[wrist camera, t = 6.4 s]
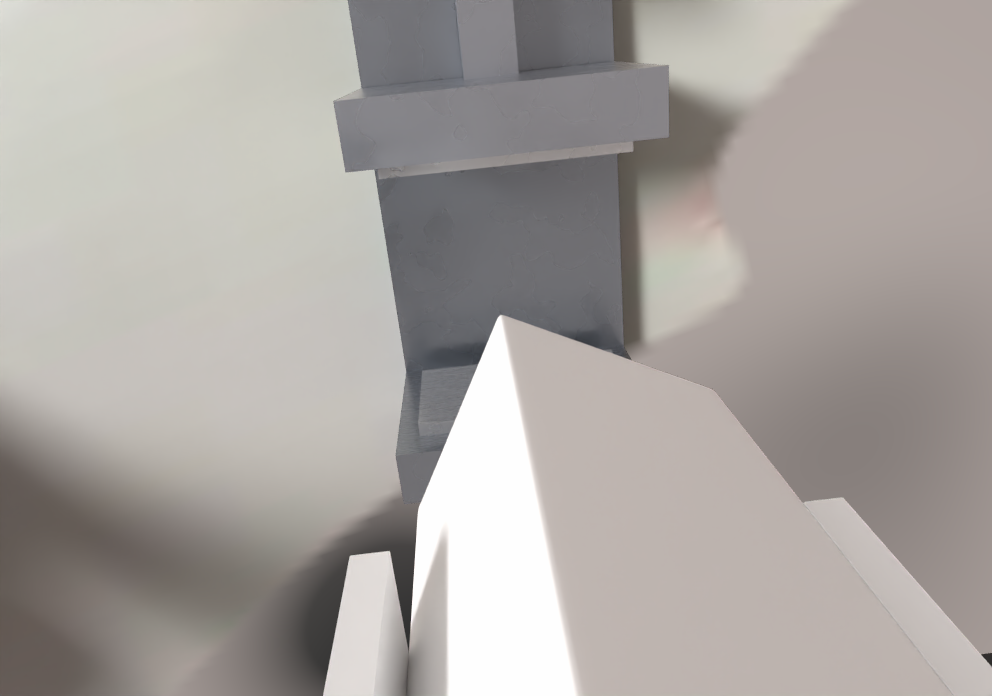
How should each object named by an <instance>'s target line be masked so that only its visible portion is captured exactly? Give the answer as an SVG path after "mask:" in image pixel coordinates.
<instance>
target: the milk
mask: <svg viewBox="0 0 992 696" xmlns="http://www.w3.org/2000/svg"><path fill="white" fill-rule="evenodd" d="M406 696H953V695H952V694H951V692H950V691H949V690H948V689H947V687H946V686H945V685H944V684H943V682H942V681H941V680H940V678H939V677H938V676H937V675H936V673H935V672H934V671H933V669H932V668H931V667H930V666H929V664H928V663H927V662H926V660H925V659H924V658H923V657H922V655H921V654H920V653H919V652H918V650H917V649H916V648H915V646H914V645H913V644H912V643H911V641H910V640H909V639H908V637H907V636H906V635H905V634H904V632H903V631H902V630H901V628H900V627H899V626H898V625H897V623H896V622H895V621H894V619H893V618H892V617H891V616H890V614H889V613H888V612H887V611H886V609H885V608H884V607H883V605H882V604H881V603H880V602H879V600H878V599H877V598H876V596H875V595H874V594H873V593H872V591H871V590H870V589H869V587H868V586H867V585H866V584H865V582H864V581H863V580H862V579H861V577H860V576H859V575H858V573H857V572H856V571H855V570H854V568H853V567H852V566H851V564H850V563H849V562H848V561H847V559H846V558H845V557H844V555H843V554H842V553H841V552H840V550H839V549H838V548H837V546H836V545H835V544H834V543H833V541H832V540H831V539H830V538H829V536H828V535H827V534H826V532H825V531H824V530H823V529H822V527H821V526H820V525H819V523H818V522H817V521H816V520H815V518H814V517H813V516H812V514H811V513H810V512H809V511H808V509H807V508H806V507H805V506H804V504H803V503H802V502H801V501H800V499H799V498H798V497H797V495H796V494H795V493H794V491H793V490H792V489H791V488H790V486H789V485H788V484H787V482H786V481H785V480H784V479H783V477H782V476H781V475H780V474H779V472H778V471H777V470H776V468H775V467H774V466H773V465H772V463H771V462H770V461H769V460H768V458H767V457H766V456H765V454H764V453H763V452H762V450H761V449H760V448H759V447H758V445H757V444H756V443H755V442H754V440H753V439H752V438H751V436H750V435H749V434H748V433H747V431H746V430H745V429H744V427H743V426H742V425H741V424H740V422H739V421H738V420H737V418H736V417H735V416H734V415H733V413H732V412H731V411H730V410H729V408H728V407H727V406H726V404H725V403H724V402H723V401H722V399H721V398H720V397H719V395H718V394H717V393H716V392H715V391H714V390H713V389H711V388H708V387H706V386H703V385H700V384H697V383H694V382H691V381H689V380H686V379H683V378H680V377H677V376H674V375H672V374H669V373H666V372H663V371H660V370H657V369H655V368H652V367H649V366H646V365H643V364H640V363H638V362H635V361H632V360H629V359H626V358H624V357H621V356H618V355H615V354H612V353H610V352H607V351H604V350H601V349H598V348H595V347H593V346H590V345H587V344H584V343H581V342H578V341H576V340H573V339H570V338H567V337H564V336H561V335H559V334H556V333H553V332H550V331H547V330H544V329H542V328H539V327H536V326H533V325H530V324H527V323H525V322H522V321H519V320H516V319H513V318H510V317H507V316H504V315H500V316H499V317H498V319H497V321H496V323H495V326H494V328H493V330H492V333H491V335H490V338H489V340H488V342H487V345H486V347H485V350H484V352H483V354H482V357H481V359H480V362H479V364H478V367H477V369H476V371H475V374H474V376H473V379H472V381H471V383H470V386H469V388H468V391H467V393H466V395H465V398H464V400H463V403H462V405H461V407H460V410H459V412H458V415H457V417H456V420H455V422H454V424H453V427H452V429H451V432H450V434H449V436H448V439H447V441H446V444H445V446H444V448H443V451H442V453H441V456H440V458H439V460H438V463H437V465H436V468H435V470H434V472H433V475H432V477H431V480H430V482H429V485H428V487H427V489H426V492H425V494H424V497H423V499H422V501H421V504H420V506H419V510H418V520H417V536H416V552H415V568H414V583H413V599H412V615H411V630H410V646H409V663H408V679H407V695H406Z"/></svg>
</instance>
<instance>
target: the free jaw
mask: <svg viewBox="0 0 992 696" xmlns="http://www.w3.org/2000/svg"><path fill="white" fill-rule="evenodd" d="M455 6H456V15H457V24H458V33H459V43H460V52H461V61H462V71H463V78H454V79H444V80H435V81H425V82H416V83H407V84H397V85H388V86H378V87H369V88H361V89H359V90H356V91H354V92H352V93H350V94H348V95H346V96H343V97H341V98H339V99H337V100H335V101H333V102H334V108H335V113H336V119H337V125H338V131H339V137H340V142H341V148H342V154H343V160H344V165H345V171H346V172H355V171H364V170H373V169H377V170H378V176H379V179H386V178H395V177H404V176H414V175H423V174H432V173H441V172H450V171H460V170H469V169H478V168H487V167H496V166H506V165H515V164H524V163H533V162H542V161H552V160H561V159H570V158H579V157H588V156H598V155H607V154H616V153H625V152H633V141H641V140H650V139H659V138H668V137H669V65H657V64H644V63H631V62H618V61H614V62H604V63H595V64H585V65H576V66H567V67H557V68H548V69H538V70H529V71H518V59H517V46H516V34H515V21H514V9H513V0H455Z"/></svg>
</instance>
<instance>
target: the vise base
mask: <svg viewBox="0 0 992 696" xmlns="http://www.w3.org/2000/svg"><path fill="white" fill-rule="evenodd" d="M348 4H349V11H350V17H351V23H352V30H353V36H354V42H355V49H356V55H357V61H358V68H359V74H360V80H361V87H362V88H369V87H378V86H388V85H397V84H407V83H416V82H425V81H435V80H444V79H454V78H463V71H462V61H461V52H460V43H459V33H458V24H457V15H456V6H455V0H348ZM513 9H514V21H515V34H516V46H517V59H518V71H529V70H538V69H548V68H557V67H567V66H576V65H585V64H595V63H604V62H614V40H613V10H612V0H513ZM375 176H376V182H377V188H378V195H379V201H380V207H381V214H382V220H383V226H384V233H385V239H386V245H387V252H388V258H389V264H390V271H391V277H392V283H393V290H394V296H395V302H396V309H397V315H398V321H399V328H400V334H401V340H402V347H403V353H404V359H405V366H406V379H405V387H404V394H403V402H402V410H401V418H400V426H399V434H398V441H397V449H396V460H397V466H398V472H399V478H400V484H401V490H402V495H403V501H404V504H409V503H417V502H421V501H422V499H423V497H424V494H425V492H426V489H427V487H428V485H429V482H430V480H431V477H432V475H433V472H434V470H435V468H436V465H437V463H438V460H439V458H440V456H441V453H442V451H443V448H444V446H445V444H446V441H447V439H448V436H449V434H450V432H451V429H452V427H453V424H454V422H455V420H456V417H457V415H458V412H459V410H460V407H461V405H462V403H463V400H464V398H465V395H466V393H467V391H468V388H469V386H470V383H471V381H472V379H473V376H474V374H475V371H476V369H477V367H478V364H479V362H480V359H481V357H482V354H483V352H484V350H485V347H486V345H487V342H488V340H489V338H490V335H491V333H492V330H493V328H494V326H495V323H496V321H497V319H498V317H499V316H500V315H504V316H507V317H510V318H513V319H516V320H519V321H522V322H525V323H527V324H530V325H533V326H536V327H539V328H542V329H544V330H547V331H550V332H553V333H556V334H559V335H561V336H564V337H567V338H570V339H573V340H576V341H578V342H581V343H584V344H587V345H590V346H593V347H595V348H598V349H601V350H604V351H607V352H610V353H612V354H615V355H618V356H621V357H624V358H626V359H629V360H631V358H630V356H629V355H628V353H627V351H626V350H625V348H624V335H623V306H622V276H621V247H620V217H619V188H618V158H617V153H616V154H607V155H598V156H588V157H579V158H570V159H561V160H552V161H542V162H533V163H524V164H515V165H506V166H496V167H487V168H478V169H469V170H460V171H450V172H441V173H432V174H423V175H414V176H404V177H395V178H386V179H379V176H378V170H377V169H375Z"/></svg>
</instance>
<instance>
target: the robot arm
mask: <svg viewBox="0 0 992 696" xmlns="http://www.w3.org/2000/svg"><path fill="white" fill-rule="evenodd" d="M804 506H805V507H806V508H807V509H808V511H809V512H810V513H811V514H812V516H813V517H814V518H815V520H816V521H817V522H818V523H819V525H820V526H821V527H822V529H823V530H824V531H825V532H826V534H827V535H828V536H829V538H830V539H831V540H832V541H833V543H834V544H835V545H836V546H837V548H838V549H839V550H840V552H841V553H842V554H843V555H844V557H845V558H846V559H847V561H848V562H849V563H850V564H851V566H852V567H853V568H854V570H855V571H856V572H857V573H858V575H859V576H860V577H861V579H862V580H863V581H864V582H865V584H866V585H867V586H868V587H869V589H870V590H871V591H872V593H873V594H874V595H875V596H876V598H877V599H878V600H879V602H880V603H881V604H882V605H883V607H884V608H885V609H886V611H887V612H888V613H889V614H890V616H891V617H892V618H893V619H894V621H895V622H896V623H897V625H898V626H899V627H900V628H901V630H902V631H903V632H904V634H905V635H906V636H907V637H908V639H909V640H910V641H911V643H912V644H913V645H914V646H915V648H916V649H917V650H918V652H919V653H920V654H921V655H922V657H923V658H924V659H925V660H926V662H927V663H928V664H929V666H930V667H931V668H932V669H933V671H934V672H935V673H936V675H937V676H938V677H939V678H940V680H941V681H942V682H943V684H944V685H945V686H946V687H947V689H948V690H949V691H950V692H951V694H952V695H953V696H992V653H989V654H980V653H979V652H978V651H977V650H976V648H975V647H974V646H973V645H972V644H971V643H970V642H969V640H968V639H967V638H966V637H965V636H964V635H963V634H962V632H961V631H960V630H959V629H958V628H957V627H956V626H955V625H954V623H953V622H952V621H951V620H950V619H949V618H948V617H947V616H946V614H945V613H944V612H943V611H942V610H941V609H940V607H939V606H938V605H937V604H936V603H935V602H934V601H933V600H932V598H931V597H930V596H929V595H928V594H927V593H926V592H925V590H924V589H923V588H922V587H921V586H920V585H919V584H918V583H917V581H916V580H915V579H914V578H913V577H912V576H911V575H910V573H909V572H908V571H907V570H906V569H905V568H904V567H903V565H902V564H901V563H900V562H899V561H898V560H897V559H896V557H895V556H894V555H893V554H892V553H891V552H890V551H889V550H888V548H887V547H886V546H885V545H884V544H883V543H882V541H881V540H880V539H879V538H878V537H877V536H876V535H875V534H874V533H873V531H872V530H871V529H870V528H869V527H868V526H867V524H866V523H865V522H864V521H863V520H862V519H861V518H860V516H859V515H858V514H857V513H856V512H855V511H854V510H853V508H852V507H851V506H850V505H849V504H848V503H847V502H846V500H845V499H844V498H843V497H841V498H834V499H824V500H816V501H807V502H804ZM408 663H409V652H408V646H407V641H406V636H405V630H404V625H403V619H402V614H401V609H400V603H399V598H398V593H397V587H396V582H395V577H394V571H393V566H392V561H391V555H390V551H386V552H377V553H369V554H361V555H352V556H350V558H349V563H348V569H347V574H346V580H345V584H344V589H343V595H342V600H341V605H340V610H339V615H338V621H337V626H336V631H335V636H334V642H333V647H332V652H331V657H330V662H329V668H328V673H327V678H326V683H325V689H324V694H323V696H406V695H407V679H408Z"/></svg>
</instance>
